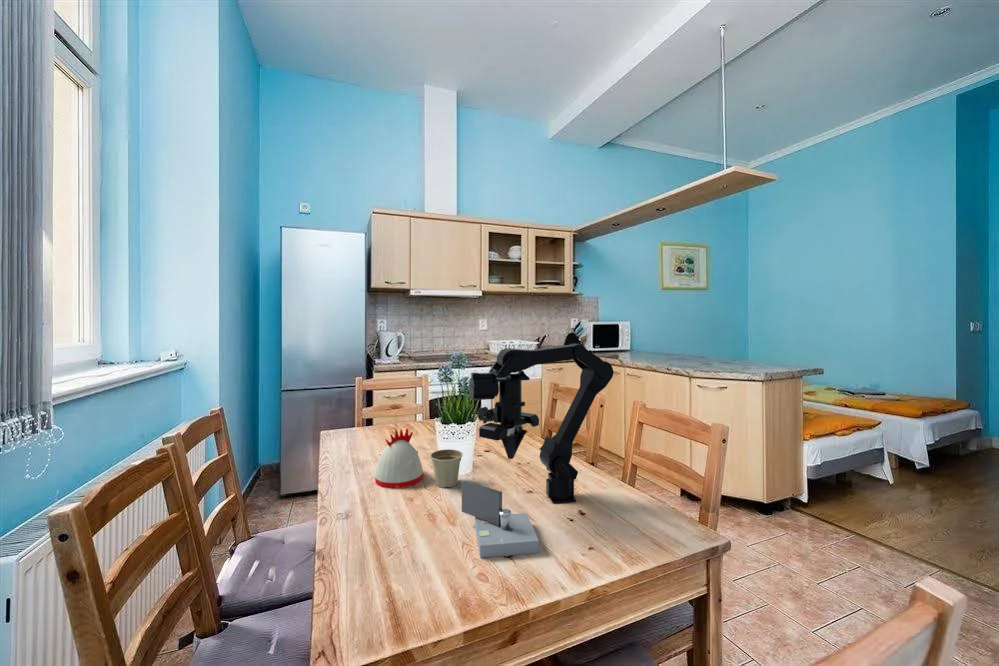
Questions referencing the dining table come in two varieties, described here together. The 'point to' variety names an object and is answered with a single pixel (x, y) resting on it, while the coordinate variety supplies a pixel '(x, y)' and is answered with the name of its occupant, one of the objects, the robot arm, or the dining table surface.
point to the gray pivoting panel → (484, 504)
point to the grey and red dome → (399, 463)
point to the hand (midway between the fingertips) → (510, 458)
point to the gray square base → (506, 537)
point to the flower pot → (446, 466)
